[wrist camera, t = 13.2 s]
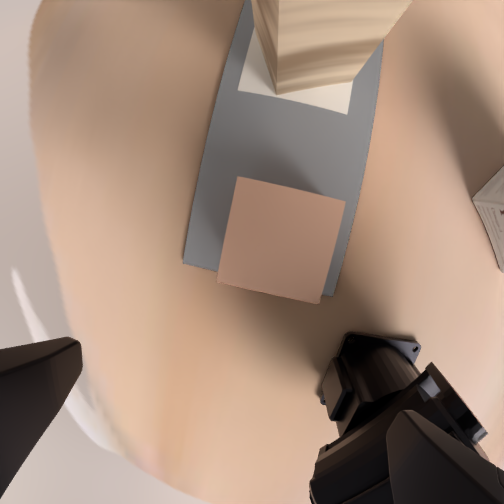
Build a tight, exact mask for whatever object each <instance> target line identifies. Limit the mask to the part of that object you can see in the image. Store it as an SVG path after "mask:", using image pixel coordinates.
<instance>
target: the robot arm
mask: <svg viewBox="0 0 504 504" xmlns="http://www.w3.org/2000/svg"><path fill="white" fill-rule="evenodd" d="M350 337H354V338H353V340H351V341H348V339H349V338H350ZM415 346H416V348H415V349H414V350H413V348H414V347H415ZM420 349H421V345H420V344H419V343H418V342H417V341H411V340H404V339H397V338H390V337H384V336H377V335H371V334H365V333H359V332H353V331H350V332H347V333H346V334H345V335H344V337H343V340H342V343H341V346H340V348H339V351H338V354H337V356H336V357H334V358H333V359H332V360H331V363H330V366H329V368H328V371H327V373H326V376H325V378H324V381H323V383H322V389H323V391H322V393H321V396H320V402H321V404H322V405H326V407H327V412H328V416H329V419H330V420H331V421H336V424H337V428H338V432H339V437H340V438H338V439H337V440H335V441H334V442H332V443H331V444H326V445H325V446H323V447H322V448H320V451H319V455H318V459H317V461H316V463H315V470H314V474H313V478H312V479H311V480H310V483H309V488H310V491H309V492H310V499H311V503H312V504H504V471H503V470H502V469H500V468H498V467H496V466H495V465H494V464H492V463H491V462H489V459H488V457H487V455H486V454H485V452H484V451H483V449H482V448H481V446H480V445H479V443H478V442H479V441H480V440H482V439H483V438H484V437H485V436H486V435H487V434H488V433H487V432H486V430H485V429H484V427H483V426H482V424H481V423H480V422H479V420H478V419H477V418H476V416H475V415H474V414H473V412H472V411H471V410H470V408H469V407H468V406H467V404H466V403H465V402H464V401H463V399H462V398H461V397H460V396H459V394H458V393H457V392H456V391H455V389H454V388H453V387H452V386H451V384H450V383H449V382H448V381H447V380H446V378H445V377H444V376H443V375H442V373H441V372H440V371H439V370H438V369H437V368H436V366H435V365H434V364H433V363H432V362H431V363H430V364H429V365H428V366H427V367H426V368H425V369H426V370H425V371H424V372H423V373H420V372H419V371H418V369H417V368H416V366H415V365H414V363H415V361H416V358H417V356H418V354H419V352H420ZM82 367H83V363H82V349H81V344H80V342H79V341H78V340H75V339H73V338H71V337H63V338H58V339H53V340H48V341H42V342H37V343H32V344H27V345H21V346H16V347H11V348H5V349H0V499H1V497H2V495H3V494H4V492H5V490H6V489H7V487H8V486H9V484H10V483H11V481H12V479H13V478H14V476H15V475H16V473H17V472H18V470H19V468H20V467H21V465H22V464H23V462H24V461H25V459H26V458H27V457H28V455H29V454H30V452H31V451H32V449H33V447H34V446H35V445H36V443H37V442H38V440H39V439H40V437H41V436H42V435H43V433H44V432H45V430H46V429H47V427H48V426H49V425H50V423H51V422H52V420H53V419H54V417H55V416H56V415H57V413H58V412H59V410H60V409H61V407H62V405H63V404H64V402H65V400H66V398H67V396H68V395H69V393H70V391H71V389H72V388H73V386H74V384H75V382H76V381H77V379H78V377H79V375H80V374H81V371H82ZM324 399H325V400H324Z"/></svg>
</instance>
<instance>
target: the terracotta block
mask: <svg viewBox="0 0 504 504" xmlns="http://www.w3.org/2000/svg"><path fill="white" fill-rule="evenodd" d="M345 203H346V201H342V200H338V199H334V198H330V197H327V196H323V195H319V194H315V193H311V192H307V191H302V190H298V189H294V188H290V187H285V186H281V185H277V184H272V183H268V182H263V181H258V180H254V179H249V178H244V177H239V176H237V181H236V186H235V190H234V195H233V200H232V205H231V209H230V214H229V219H228V224H227V229H226V234H225V239H224V244H223V249H222V254H221V259H220V264H219V269H218V275H217V280H216V282H219V283H223V284H227V285H231V286H236V287H240V288H245V289H249V290H253V291H258V292H262V293H267V294H272V295H276V296H281V297H285V298H290V299H295V300H300V301H304V302H309V303H314V304H319V302H320V298H321V295H322V292H323V288H324V285H325V281H326V278H327V274H328V270H329V267H330V263H331V259H332V256H333V252H334V248H335V244H336V240H337V236H338V232H339V228H340V224H341V220H342V216H343V212H344V207H345Z"/></svg>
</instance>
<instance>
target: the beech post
mask: <svg viewBox="0 0 504 504" xmlns="http://www.w3.org/2000/svg"><path fill="white" fill-rule="evenodd" d="M412 1H413V0H251V2H252V10H253V18H254V25H255V33H256V36H257V39H258V42H259V44H260V47H261V50H262V53H263V56H264V59H265V62H266V65H267V68H268V71H269V74H270V77H271V80H272V83H273V87H274V90H275V93H276V95H281V94H285V93H290V92H295V91H300V90H305V89H311V88H316V87H322V86H328V85H335V84H341V83H349V82H352V80H353V79H354V78H355V76H356V75H357V74H358V72H359V71H360V70H361V68H362V67H363V66H364V64H365V63H366V62H367V60H368V59H369V58H370V56H371V55H372V54H373V52H374V51H375V50H376V48H377V47H378V46H379V44H380V43H381V42H382V40H383V39H384V38H385V36H386V35H387V34H388V32H389V31H390V30H391V28H392V27H393V26H394V24H395V23H396V22H397V21H398V19H399V18H400V17H401V15H402V14H403V13H404V11H405V10H406V9H407V8H408V6H409V5H410V4H411V2H412Z"/></svg>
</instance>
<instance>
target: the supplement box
mask: <svg viewBox="0 0 504 504" xmlns="http://www.w3.org/2000/svg"><path fill="white" fill-rule="evenodd" d="M472 201H473V203H474V205H475V207H476V209H477V210H478V212H479V214H480V217H481V219H482V221H483V223H484V225H485V228H486V230H487V233H488V235H489V238H490V241H491V243H492V246H493V249H494V252H495V255H496V258H497V261H498V264H499V268H500V271H501V272H502V273H504V166H503V167H502V168H501V169H500V170H499V171H498V172H497V173H496V174H495V175H494V176H493V177H492V178H491V179H490V180H489V182H488V183H486V184H485V186H484V187H483V188H482V189H481V190H479V191H478V192H477V193H476V195H475V196H474V197H473V198H472Z"/></svg>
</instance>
